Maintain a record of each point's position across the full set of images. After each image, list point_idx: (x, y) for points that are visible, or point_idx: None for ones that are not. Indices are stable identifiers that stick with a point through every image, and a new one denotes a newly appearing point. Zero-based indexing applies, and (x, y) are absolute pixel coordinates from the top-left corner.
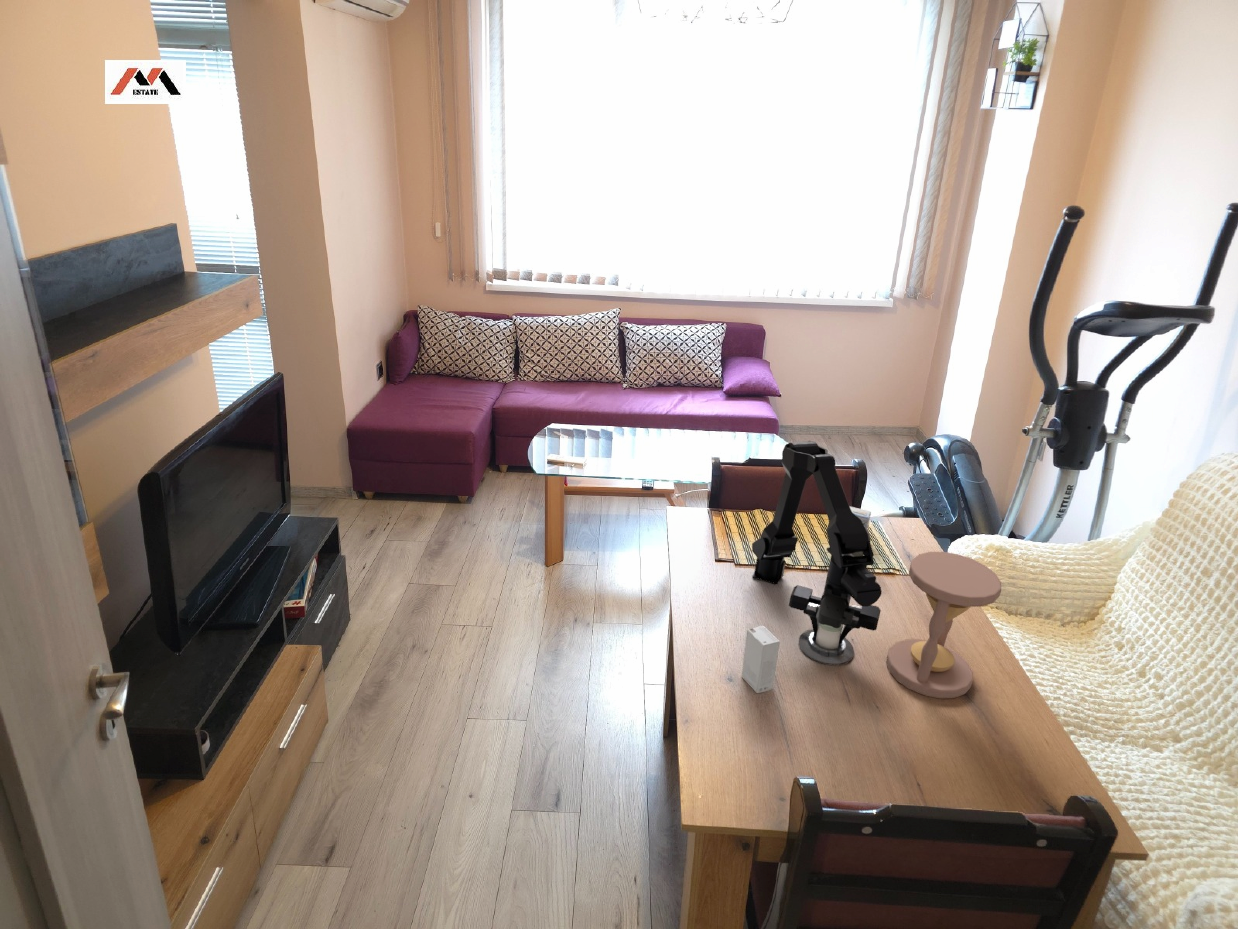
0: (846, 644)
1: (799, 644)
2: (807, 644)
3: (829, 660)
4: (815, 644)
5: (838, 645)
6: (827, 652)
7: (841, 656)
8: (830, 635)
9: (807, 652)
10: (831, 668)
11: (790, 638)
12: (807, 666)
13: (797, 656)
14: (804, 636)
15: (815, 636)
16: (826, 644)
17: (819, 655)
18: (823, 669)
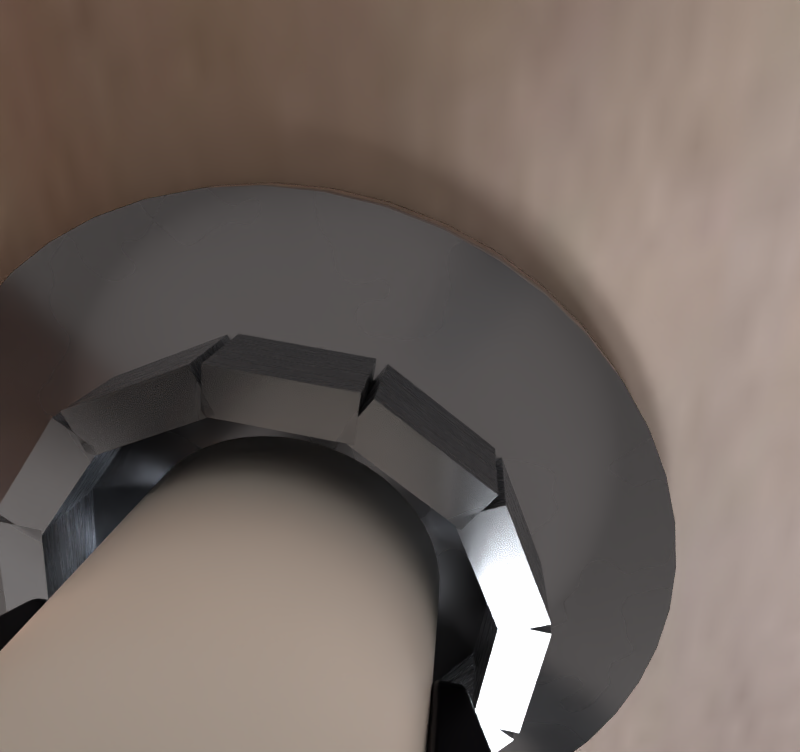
0: None
1: (671, 514)
2: (548, 537)
3: (196, 249)
4: (432, 554)
5: None
6: (220, 363)
7: (58, 405)
8: (59, 711)
9: (557, 351)
10: (160, 109)
11: (768, 622)
12: (557, 2)
13: (717, 245)
14: (583, 680)
15: None
16: (239, 520)
17: (361, 331)
18: (276, 24)
